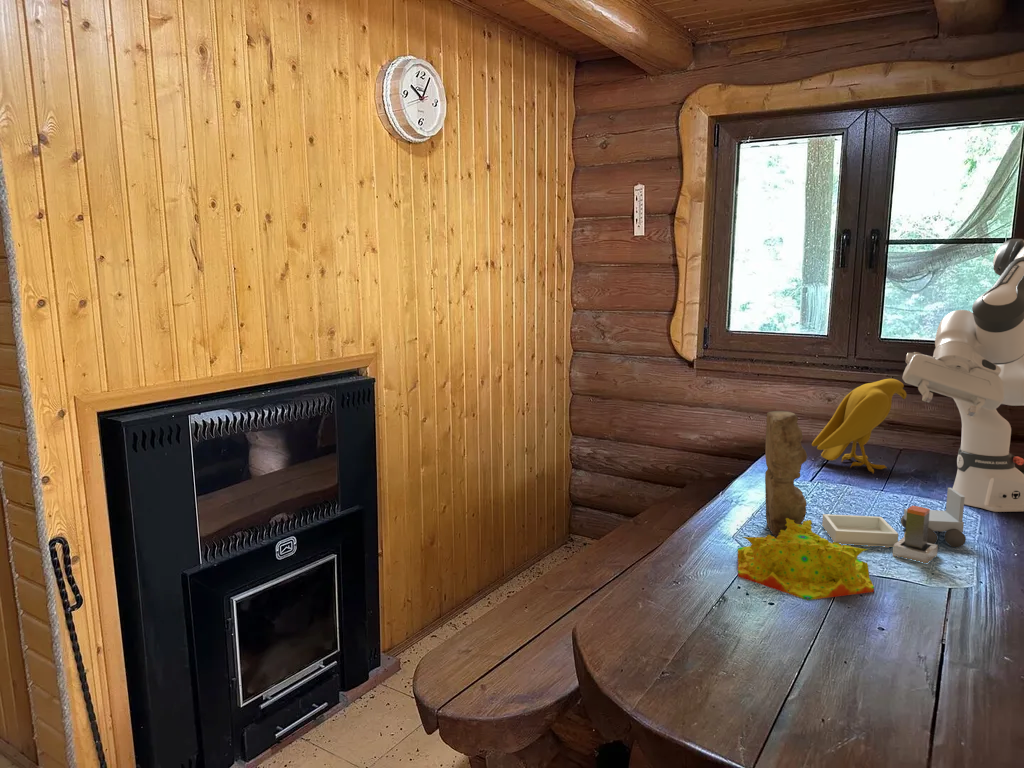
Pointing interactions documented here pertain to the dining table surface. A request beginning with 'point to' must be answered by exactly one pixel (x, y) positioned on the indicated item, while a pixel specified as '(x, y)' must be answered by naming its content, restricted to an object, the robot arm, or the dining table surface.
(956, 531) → the trolley
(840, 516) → the tray
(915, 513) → the pin
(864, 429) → the sculpture
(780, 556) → the decorative piece
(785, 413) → the sculpture
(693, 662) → the dining table surface
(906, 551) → the bracket
